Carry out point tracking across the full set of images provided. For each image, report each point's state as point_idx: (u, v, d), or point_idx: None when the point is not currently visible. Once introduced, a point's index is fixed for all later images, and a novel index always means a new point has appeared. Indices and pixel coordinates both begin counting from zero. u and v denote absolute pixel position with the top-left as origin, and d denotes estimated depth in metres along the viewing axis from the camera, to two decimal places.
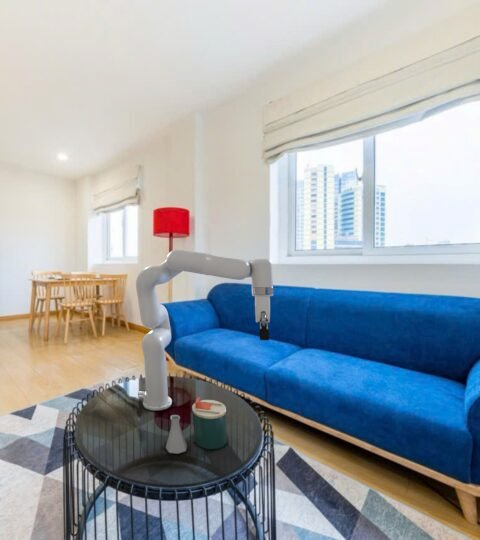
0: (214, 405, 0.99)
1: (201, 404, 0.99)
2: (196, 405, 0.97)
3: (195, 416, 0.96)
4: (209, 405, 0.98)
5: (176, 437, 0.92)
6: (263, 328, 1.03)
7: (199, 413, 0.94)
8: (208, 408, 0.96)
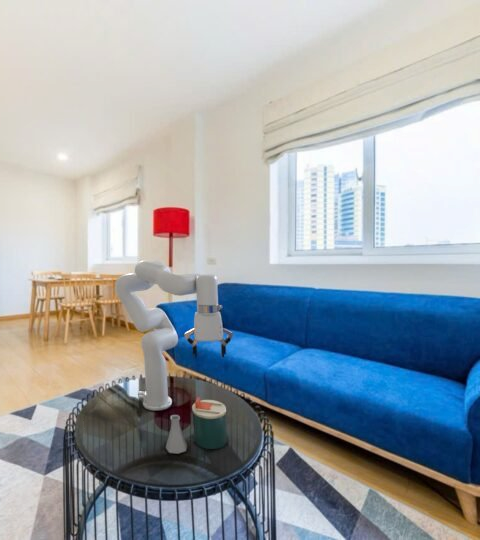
0: (214, 405, 0.99)
1: (201, 404, 0.99)
2: (196, 405, 0.97)
3: (195, 416, 0.96)
4: (209, 405, 0.98)
5: (176, 437, 0.92)
6: None
7: (199, 413, 0.94)
8: (208, 408, 0.96)
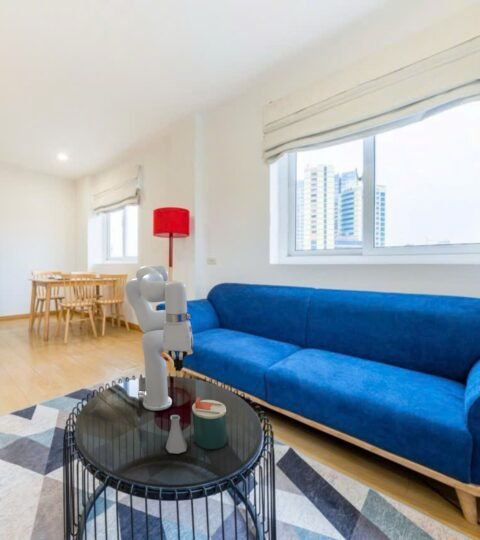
0: (214, 405, 0.99)
1: (201, 404, 0.99)
2: (196, 405, 0.97)
3: (195, 416, 0.96)
4: (209, 405, 0.98)
5: (176, 437, 0.92)
6: None
7: (199, 413, 0.94)
8: (208, 408, 0.96)
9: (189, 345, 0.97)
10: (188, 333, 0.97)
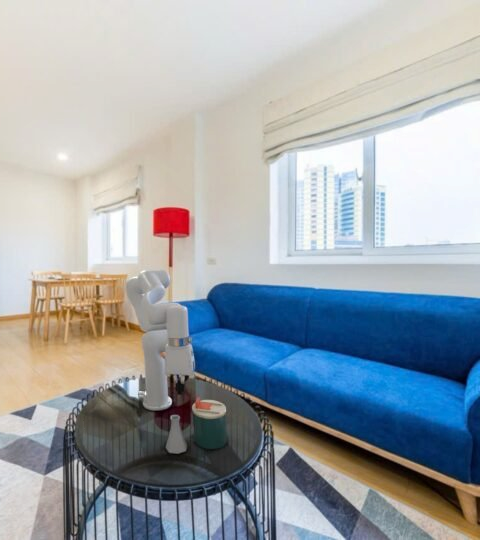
0: (214, 405, 0.99)
1: (201, 404, 0.99)
2: (196, 405, 0.97)
3: (195, 416, 0.96)
4: (209, 405, 0.98)
5: (176, 437, 0.92)
6: None
7: (199, 413, 0.94)
8: (208, 408, 0.96)
9: (191, 369, 0.97)
10: (190, 357, 0.97)
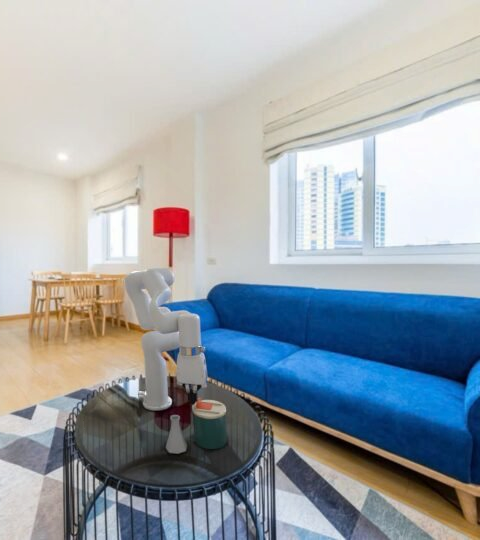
0: (214, 405, 0.99)
1: (202, 404, 0.99)
2: (197, 405, 0.97)
3: (195, 416, 0.96)
4: (210, 405, 0.98)
5: (176, 437, 0.92)
6: None
7: (199, 413, 0.94)
8: (209, 408, 0.96)
9: (203, 379, 0.96)
10: (202, 367, 0.96)
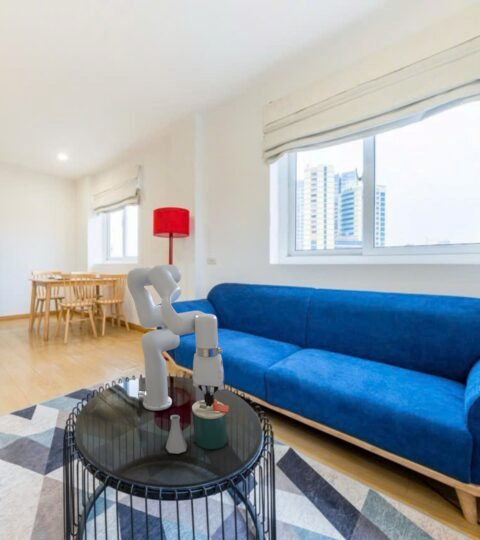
0: None
1: (218, 406, 0.97)
2: (214, 407, 0.95)
3: (195, 416, 0.96)
4: (227, 407, 0.96)
5: (176, 437, 0.92)
6: None
7: (199, 413, 0.94)
8: (226, 410, 0.94)
9: (221, 381, 0.94)
10: (220, 368, 0.94)
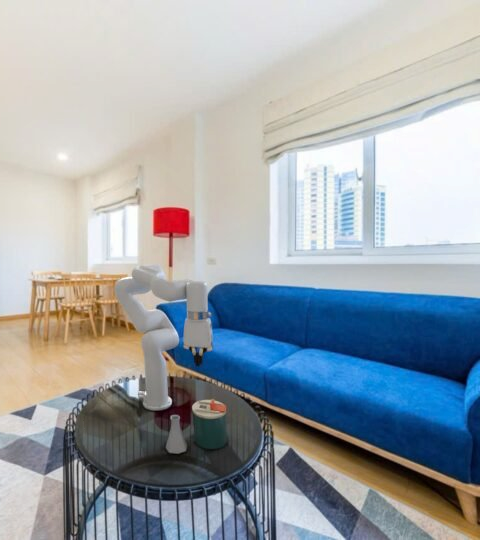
0: None
1: (216, 406, 0.98)
2: (211, 407, 0.96)
3: (195, 416, 0.96)
4: (224, 407, 0.97)
5: (176, 437, 0.92)
6: None
7: (199, 413, 0.94)
8: (223, 410, 0.95)
9: (209, 342, 1.01)
10: (209, 330, 1.01)
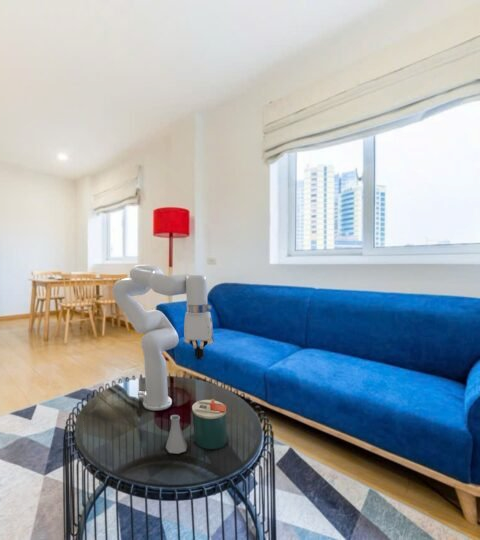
0: None
1: (216, 406, 0.98)
2: (211, 407, 0.96)
3: (195, 416, 0.96)
4: (224, 407, 0.97)
5: (176, 437, 0.92)
6: None
7: (199, 413, 0.94)
8: (223, 410, 0.95)
9: (210, 335, 1.02)
10: (209, 323, 1.02)
